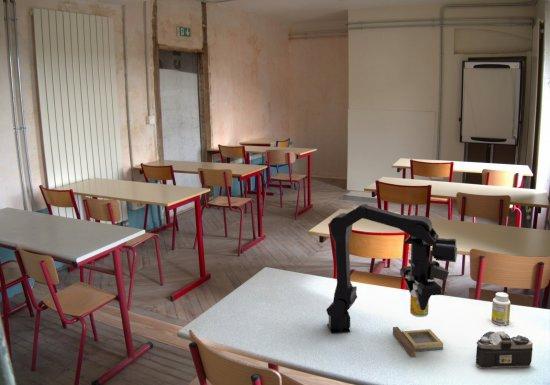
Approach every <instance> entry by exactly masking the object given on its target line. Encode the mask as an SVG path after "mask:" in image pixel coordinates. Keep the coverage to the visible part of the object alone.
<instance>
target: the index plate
mask: <svg viewBox="0 0 550 385" xmlns="http://www.w3.org/2000/svg"><path fill="white" fill-rule="evenodd" d="M401 331H402V330H401ZM402 333H403V334H404V335H405V336H406V338H407V339H408V340H409V341H410V343H411V344H412V345H413V346H414V347H415V349H416V353H421V352H431V351H443V350H444V342H443V341H442V340H441V339H440V338H439V337H438V336H437V335H436V334H435V333H434V331H432V329H430V328H428V329H416V330H415V329H414V330H413V329H412V330H403V331H402Z"/></svg>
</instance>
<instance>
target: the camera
mask: <svg viewBox="0 0 550 385" xmlns="http://www.w3.org/2000/svg"><path fill="white" fill-rule="evenodd" d="M533 344H534V343H533V342H532V340H530V339H529V338H528V337H526V336H522V335H520V334H518V335H517V336H512V337H510V335H509V334H508V333H506V332H505V331H504V330H503V331H500V330H499V331H487V332H485V333H484V334H483V335H482V336H481V337H480V339H478V340H477V342H476V353H475V365H476V366H477V367H478V368H480V369H496V368H499V369H501V368H530V366H531V363H532V360H533V358H532V357H533V350H534V349H533Z"/></svg>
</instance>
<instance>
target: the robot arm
mask: <svg viewBox="0 0 550 385" xmlns="http://www.w3.org/2000/svg"><path fill="white" fill-rule="evenodd" d="M362 219H364V220H368V221H371V222H375V223H377V224H378V223H379V224H380V225H381V224H382V225H385V226H388V227H393V228H395V229H398V230H401V231H402V232H403V233H405V234H406V235H408V236H409V237H407V238H405V241H404V244H407V245H410V258H409V259H408V261H407V262H408V263H409V265H408V266H407V265H405V266H402V267H401V268H400V271H399V275H400V276H401V278H403V281H404V283H405V285H406V288H407V289H408V292H409V294H410V295H411V291H412V290H413V284H414V283H416V282H417V283H418V285H417V289H418V290H415V292H416V295H417V299H418V302H419V305H420V308H421V310H425V309H426V306H427V303H428V304H429V301H430V298H431V297H432V296H439V295H440V296H441V295H443V287H442V286H441V285H440V284H438V283H437V282H436V281H434V280H435V279H437V280H441V281H443V282H446V281H447V280H448V276H449V274H450V271H449V270H447V269H446V268H444V267H442V266H440V265H441V264H440V262H439V261H442V262H447V263H448V262H450V263H456V262H457V257H458V256H457V255H458V247H457V239H456V238H440V236H439V235H438V233H437V232H436V230H435V228H434V227H433V223H432V221H431V219H430V218H429V217H427V216H425V215H414V214H409V215H407V214H406V215H405V214H401V213H396V212H393V211H389V210H385V209H382V208H378V207H375V206H371V205H369V204H367V203H362V204H360V205H359V206H357V207H356V208H354V209H352V210H351V211H348V212H347V213H345V212H343V213H339V214H338V215H336V216H334V217H332V219H331V220H330V222H329V229H330V234H331V237H332V239H333V241H334V246H335V247H334V248H335V267H336V286H335V290H334V293H333V301H332V302H331V304H329V305H328V307H327V308H326V314H327V316H328V322H327V324H326V325H327V327H328V330H329V332H330V333H331V334H340V333H341V334H342V333H351V330H350V329H351V315H350V314H349V310H350V309H351V308H352V306H353V305H354V304H355V302H356V300H357V299H358V294H357V289H358V287H357V286H355V285H354V286H353V285H352V282H351V266H350V265H351V262H350V260H351V258H350V240H351V239H350V238H351V236H352V230H353V224H355V223H356V222H358V221H361V220H362ZM431 256H432V257H433V259H435V260H432V261H431ZM429 280H430V281H429Z"/></svg>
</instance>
